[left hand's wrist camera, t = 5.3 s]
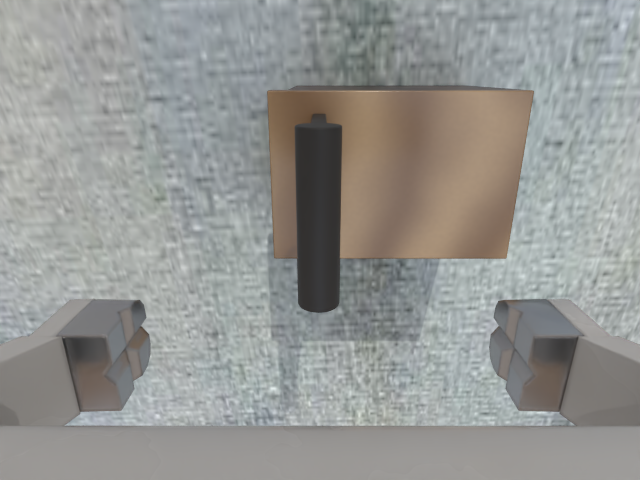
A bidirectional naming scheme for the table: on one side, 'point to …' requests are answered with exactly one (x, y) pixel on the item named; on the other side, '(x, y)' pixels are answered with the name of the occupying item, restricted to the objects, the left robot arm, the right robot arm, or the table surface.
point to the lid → (391, 177)
